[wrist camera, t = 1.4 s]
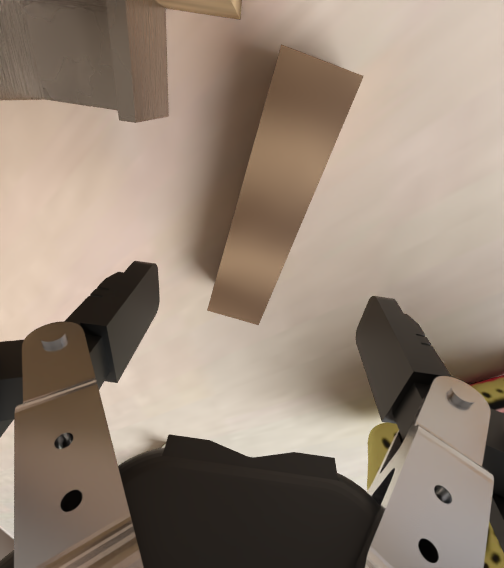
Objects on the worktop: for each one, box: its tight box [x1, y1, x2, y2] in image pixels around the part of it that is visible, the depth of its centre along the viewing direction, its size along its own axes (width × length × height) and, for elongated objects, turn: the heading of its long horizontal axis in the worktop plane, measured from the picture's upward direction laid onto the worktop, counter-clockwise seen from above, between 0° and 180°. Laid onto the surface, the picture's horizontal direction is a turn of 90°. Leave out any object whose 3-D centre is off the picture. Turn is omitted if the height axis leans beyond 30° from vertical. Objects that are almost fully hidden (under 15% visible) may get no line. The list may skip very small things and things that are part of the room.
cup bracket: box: [0, 0, 168, 123], centre depth 14 cm, size 5×8×7 cm, turn 83°
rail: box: [207, 45, 363, 325], centre depth 19 cm, size 16×4×4 cm, turn 163°
